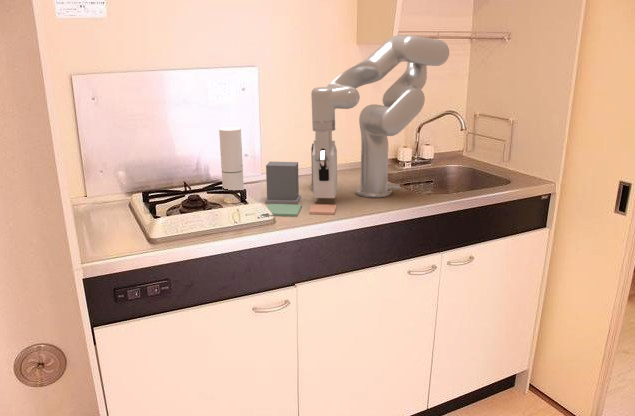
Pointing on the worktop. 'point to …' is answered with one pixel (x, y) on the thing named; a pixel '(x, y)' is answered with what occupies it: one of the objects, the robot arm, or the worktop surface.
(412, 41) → the robot arm
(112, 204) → the worktop surface
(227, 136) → the cylindrical container
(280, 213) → the green mat
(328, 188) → the milk carton
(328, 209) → the terracotta tile
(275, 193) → the wall box
